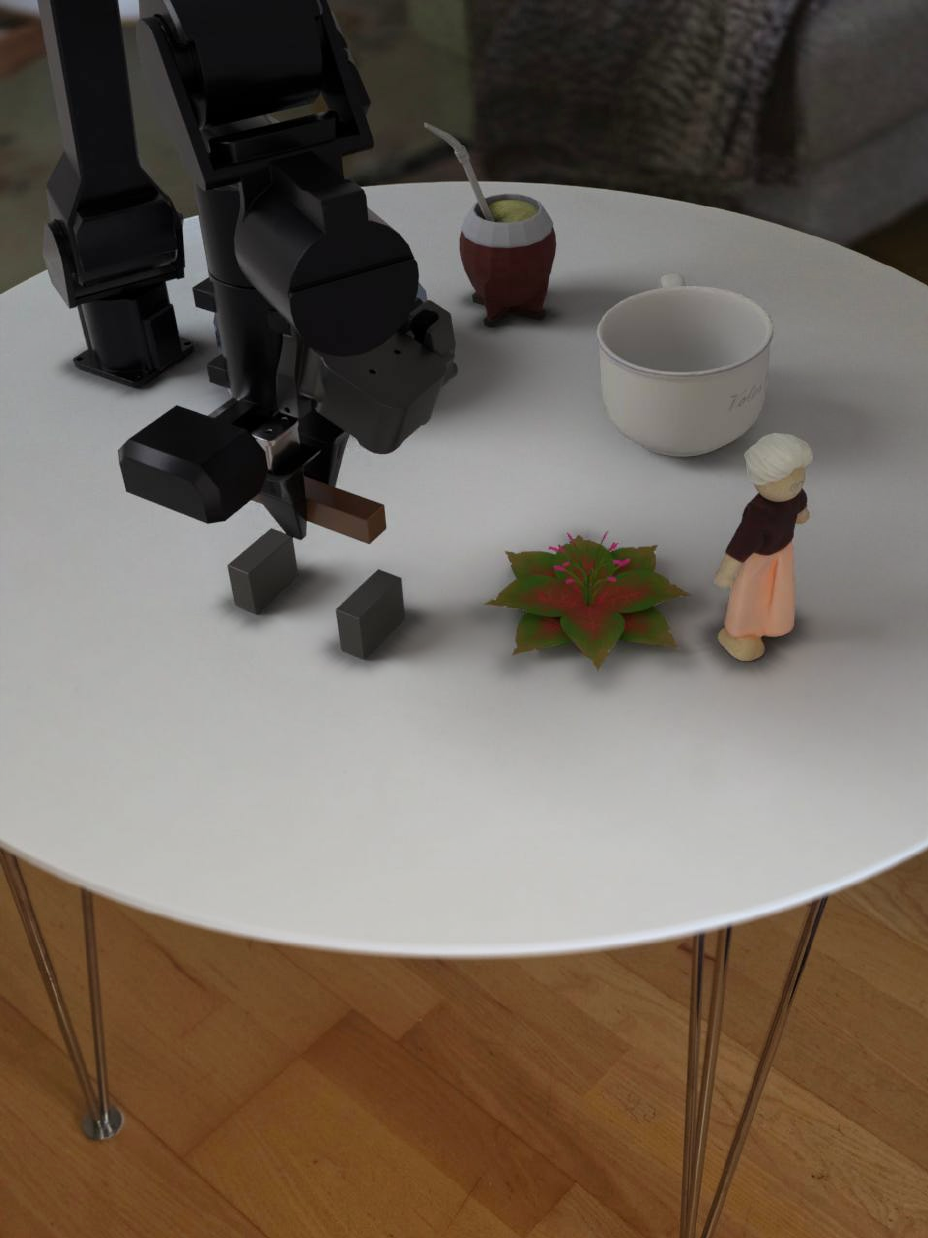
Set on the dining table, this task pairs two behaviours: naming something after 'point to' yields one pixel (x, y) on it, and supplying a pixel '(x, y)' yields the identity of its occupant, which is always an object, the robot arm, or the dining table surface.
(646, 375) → the teacup
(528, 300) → the mate gourd
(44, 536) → the dining table surface
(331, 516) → the stick
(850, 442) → the dining table surface
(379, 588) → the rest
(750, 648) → the grandmother figurine
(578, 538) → the red green leafy plant
